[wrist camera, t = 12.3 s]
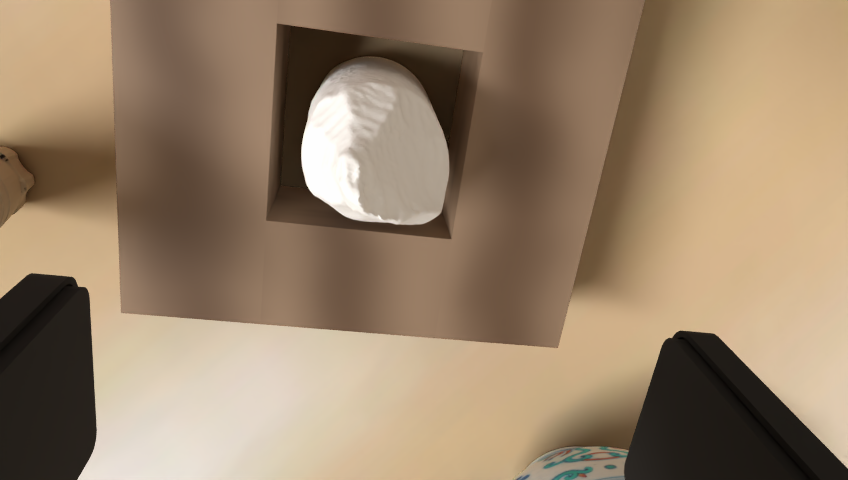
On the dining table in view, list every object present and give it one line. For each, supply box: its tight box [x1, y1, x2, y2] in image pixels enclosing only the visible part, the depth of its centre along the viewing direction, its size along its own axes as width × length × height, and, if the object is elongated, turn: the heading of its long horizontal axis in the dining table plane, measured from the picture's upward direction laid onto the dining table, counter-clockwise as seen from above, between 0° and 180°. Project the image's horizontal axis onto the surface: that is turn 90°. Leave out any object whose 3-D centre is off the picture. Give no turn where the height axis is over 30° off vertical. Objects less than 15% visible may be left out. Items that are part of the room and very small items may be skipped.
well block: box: [110, 0, 645, 348], centre depth 29 cm, size 20×18×5 cm
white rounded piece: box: [301, 56, 449, 225], centre depth 25 cm, size 6×12×6 cm
